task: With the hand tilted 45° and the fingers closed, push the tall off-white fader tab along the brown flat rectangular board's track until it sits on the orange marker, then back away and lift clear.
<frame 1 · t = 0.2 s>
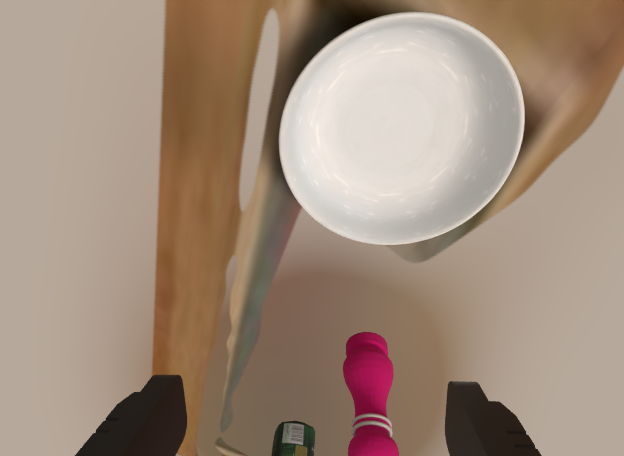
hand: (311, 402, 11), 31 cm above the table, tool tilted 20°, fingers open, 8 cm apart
serving bowl: (388, 125, 38), on the table
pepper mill: (366, 344, 57), on the table
green labelled bottle: (295, 430, 73), on the table
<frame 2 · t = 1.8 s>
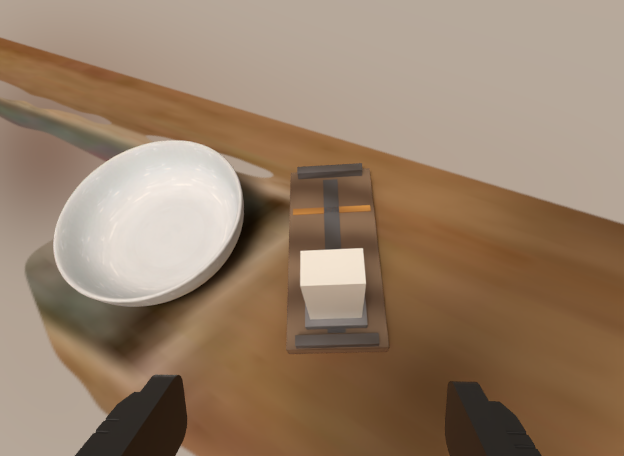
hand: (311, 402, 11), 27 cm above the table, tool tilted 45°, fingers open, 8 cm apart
serving bowl: (173, 240, 46), on the table
fader: (334, 289, 33), point 7 cm above the table, slide at 0.0 cm
brown flat rectangular board: (333, 255, 43), on the table
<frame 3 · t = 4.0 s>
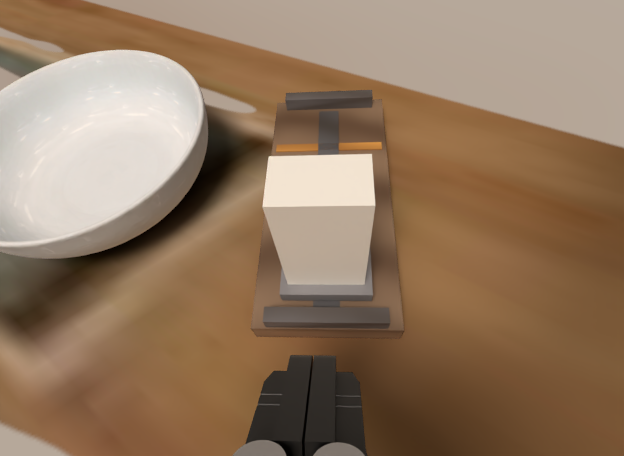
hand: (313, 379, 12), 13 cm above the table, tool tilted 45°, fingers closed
serving bowl: (118, 184, 35), on the table
fader: (323, 234, 21), point 8 cm above the table, slide at 0.0 cm
brown flat rectangular board: (328, 207, 31), on the table
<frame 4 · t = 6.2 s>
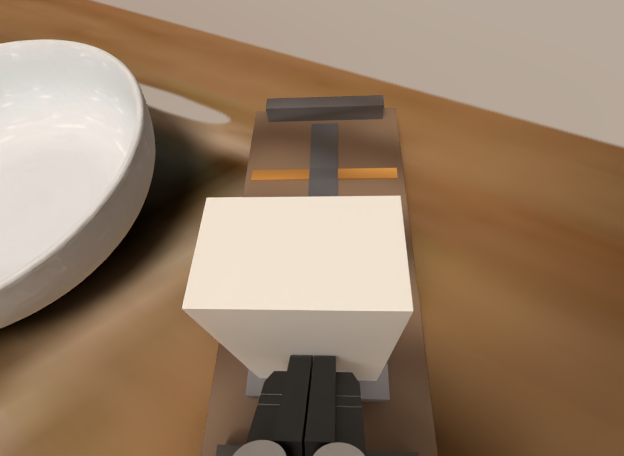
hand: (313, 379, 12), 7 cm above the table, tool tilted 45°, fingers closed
serving bowl: (40, 220, 26), on the table
fader: (312, 315, 13), point 8 cm above the table, slide at 1.1 cm, touching gripper
brown flat rectangular board: (323, 259, 22), on the table
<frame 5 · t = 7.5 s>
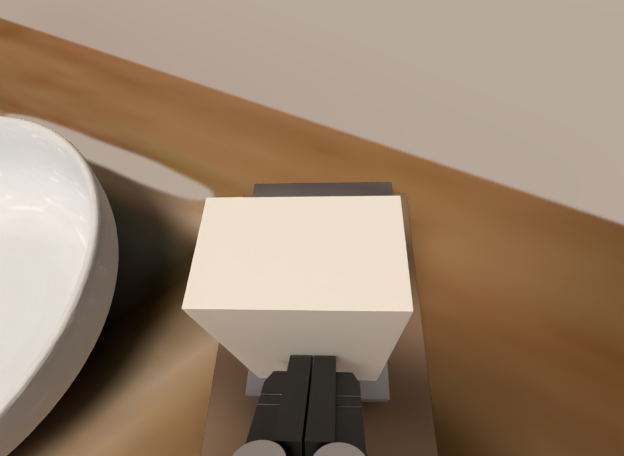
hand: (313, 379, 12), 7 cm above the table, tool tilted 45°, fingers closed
fader: (312, 315, 13), point 8 cm above the table, slide at 8.6 cm, touching gripper
brown flat rectangular board: (320, 393, 19), on the table
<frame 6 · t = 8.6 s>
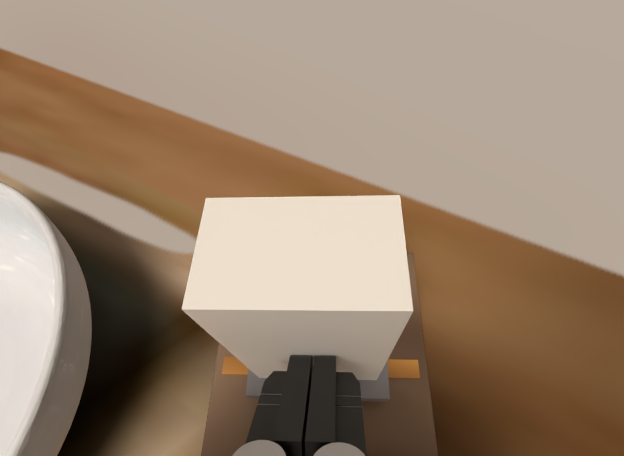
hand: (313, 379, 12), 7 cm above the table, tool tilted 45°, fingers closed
fader: (312, 315, 13), point 8 cm above the table, slide at 12.8 cm, touching gripper
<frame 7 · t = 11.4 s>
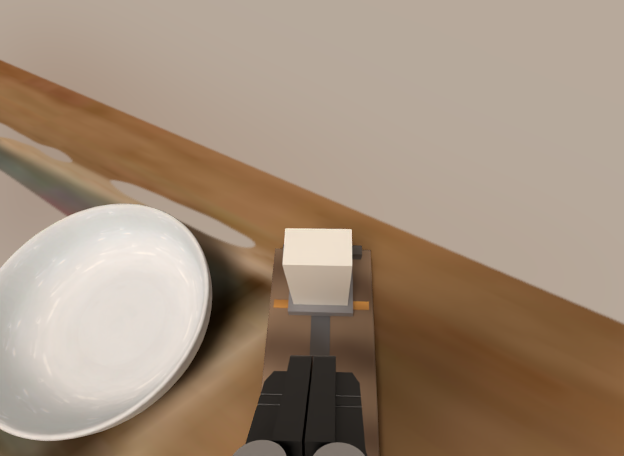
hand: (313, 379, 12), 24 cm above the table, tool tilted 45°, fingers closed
serving bowl: (127, 324, 38), on the table
fader: (319, 273, 31), point 8 cm above the table, slide at 13.0 cm
brown flat rectangular board: (320, 362, 35), on the table
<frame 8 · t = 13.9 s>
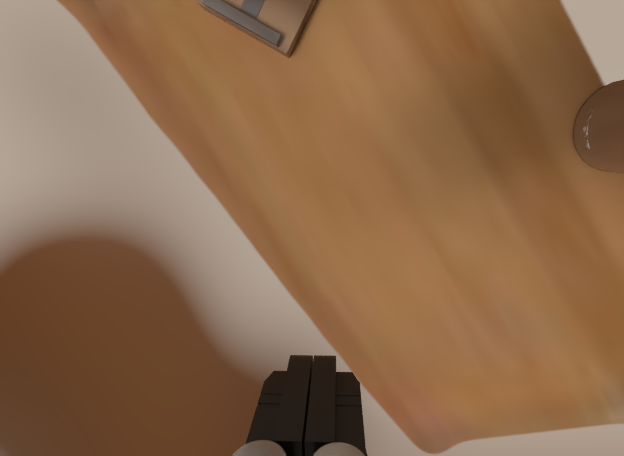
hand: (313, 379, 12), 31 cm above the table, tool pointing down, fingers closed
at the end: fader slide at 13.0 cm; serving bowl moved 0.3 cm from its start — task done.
